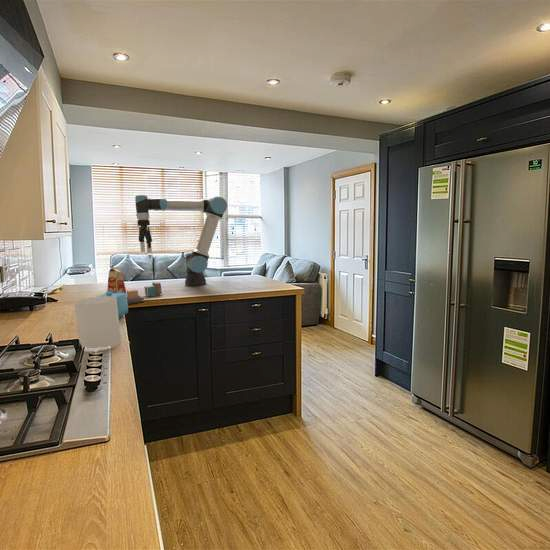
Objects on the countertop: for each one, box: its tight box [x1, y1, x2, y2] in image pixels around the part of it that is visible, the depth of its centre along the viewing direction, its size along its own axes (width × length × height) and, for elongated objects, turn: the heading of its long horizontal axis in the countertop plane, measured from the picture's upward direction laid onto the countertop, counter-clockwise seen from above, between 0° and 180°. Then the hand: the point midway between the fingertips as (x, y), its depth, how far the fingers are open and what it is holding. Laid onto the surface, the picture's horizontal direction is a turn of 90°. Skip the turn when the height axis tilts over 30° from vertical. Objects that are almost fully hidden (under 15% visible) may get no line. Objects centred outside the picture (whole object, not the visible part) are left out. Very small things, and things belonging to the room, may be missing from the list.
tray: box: [127, 294, 145, 305], centre depth 229 cm, size 10×10×2 cm
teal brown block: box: [144, 281, 163, 297], centre depth 246 cm, size 9×7×8 cm
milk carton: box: [106, 266, 127, 293], centre depth 242 cm, size 9×9×20 cm
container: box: [74, 296, 122, 349], centre depth 149 cm, size 14×14×18 cm
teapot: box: [96, 290, 129, 319], centre depth 190 cm, size 22×11×14 cm, turn 175°
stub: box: [126, 288, 139, 300], centre depth 229 cm, size 5×5×6 cm
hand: (146, 252), depth 253 cm, fingers open, 13 cm apart
